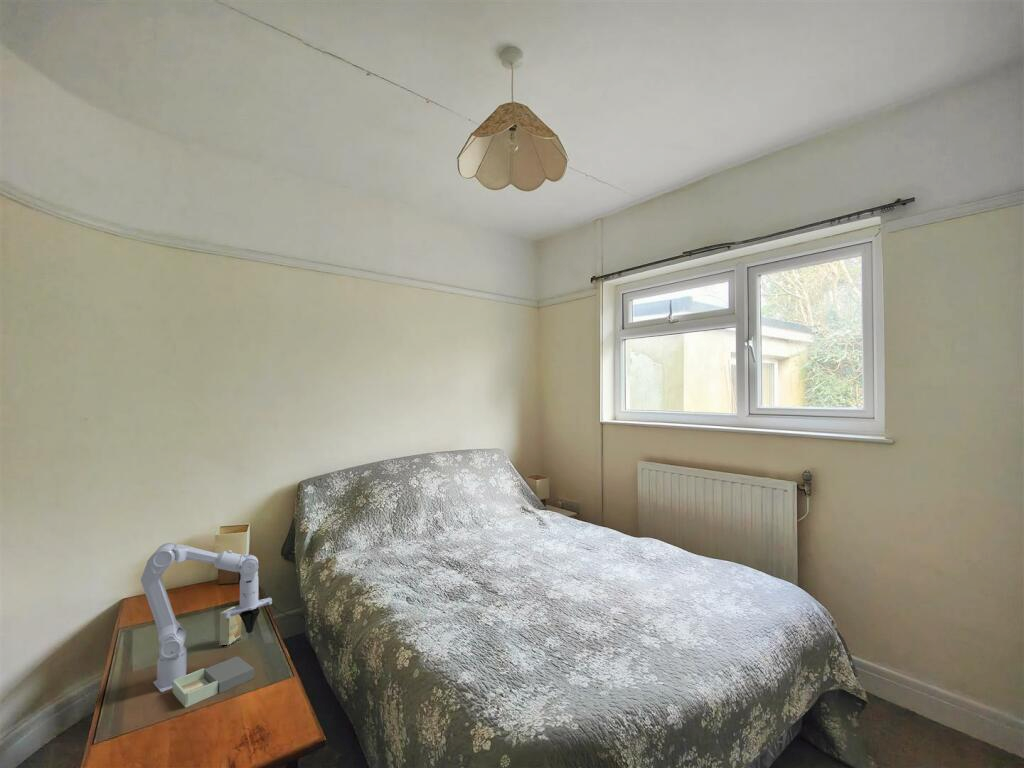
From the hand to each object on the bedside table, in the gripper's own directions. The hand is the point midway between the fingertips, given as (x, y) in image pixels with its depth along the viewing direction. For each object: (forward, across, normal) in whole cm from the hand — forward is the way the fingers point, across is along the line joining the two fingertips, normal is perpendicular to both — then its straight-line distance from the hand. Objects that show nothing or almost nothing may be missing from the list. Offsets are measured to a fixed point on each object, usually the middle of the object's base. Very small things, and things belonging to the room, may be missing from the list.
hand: (249, 631), depth 158 cm
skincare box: (+11, +2, +23) cm, 25 cm away
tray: (+10, -18, -5) cm, 21 cm away
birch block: (+9, -18, -5) cm, 21 cm away
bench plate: (+10, -8, -5) cm, 14 cm away
